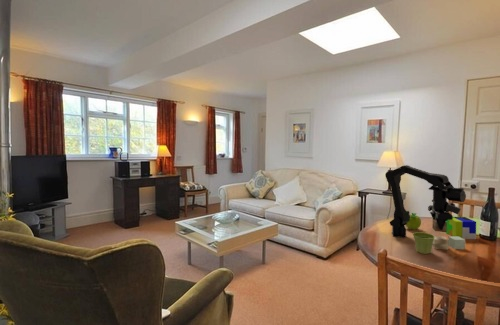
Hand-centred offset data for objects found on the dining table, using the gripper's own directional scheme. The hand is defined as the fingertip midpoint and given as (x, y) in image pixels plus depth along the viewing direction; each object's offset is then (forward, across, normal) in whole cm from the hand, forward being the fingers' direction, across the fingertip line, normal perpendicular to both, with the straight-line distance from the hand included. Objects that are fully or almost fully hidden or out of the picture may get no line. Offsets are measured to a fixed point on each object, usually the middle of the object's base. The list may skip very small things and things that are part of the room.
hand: (439, 228), depth 136 cm
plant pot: (+10, -9, +9) cm, 17 cm away
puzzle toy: (+10, +22, -16) cm, 29 cm away
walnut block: (+1, 0, 0) cm, 1 cm away
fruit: (+10, +29, +7) cm, 32 cm away
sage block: (+10, +2, -8) cm, 13 cm away
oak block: (+10, 0, 0) cm, 10 cm away
